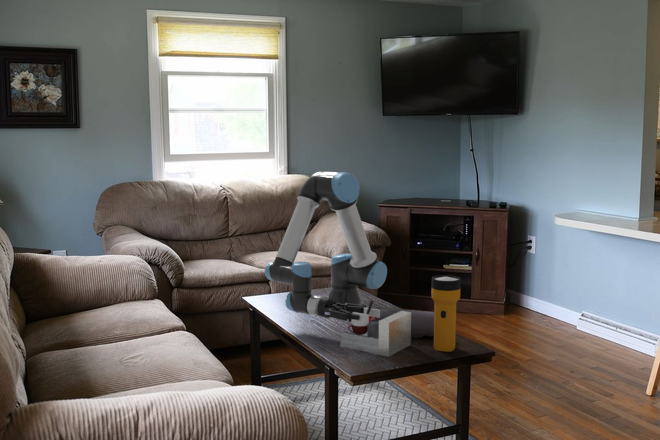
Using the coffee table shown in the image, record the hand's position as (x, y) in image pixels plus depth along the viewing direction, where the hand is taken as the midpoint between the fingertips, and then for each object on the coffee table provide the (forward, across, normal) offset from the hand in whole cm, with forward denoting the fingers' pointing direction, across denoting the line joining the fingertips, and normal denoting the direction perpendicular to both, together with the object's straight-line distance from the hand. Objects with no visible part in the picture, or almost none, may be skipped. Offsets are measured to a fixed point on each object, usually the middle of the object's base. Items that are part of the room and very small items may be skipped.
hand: (373, 316), depth 244 cm
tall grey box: (0, -1, -9) cm, 9 cm away
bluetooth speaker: (+4, -18, -11) cm, 21 cm away
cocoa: (-5, +1, -7) cm, 9 cm away
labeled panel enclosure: (0, -1, -11) cm, 11 cm away
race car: (-18, -20, -12) cm, 29 cm away
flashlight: (+22, -12, -11) cm, 28 cm away
